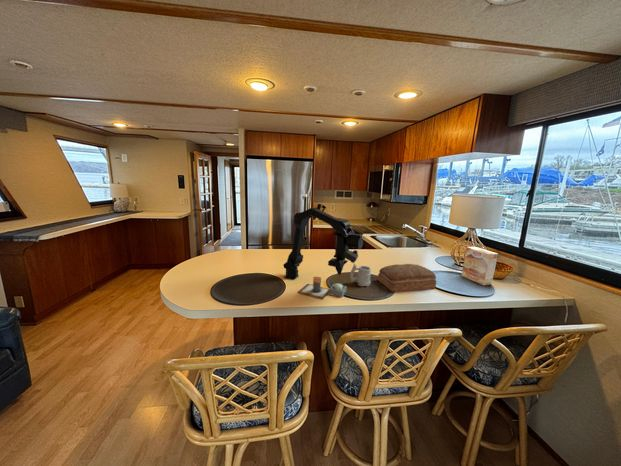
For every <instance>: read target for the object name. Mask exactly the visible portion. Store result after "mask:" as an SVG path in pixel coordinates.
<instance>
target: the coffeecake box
mask: <svg viewBox="0 0 621 466" xmlns="http://www.w3.org/2000/svg"><path fill="white" fill-rule="evenodd" d="M465 250H466V251H465V255H464V260H463V266H462V271H461V275H460V276H461V277H464V278H465V279H468V280H470V281H473V282H475V283H478V284H479V285H482V286H488V285H492V284H493V279H494V275H495V269H496V265H497V261H498V256H499V253H498V252H493V251H490V250H489V249H485V248H481V247H477V246H466V249H465Z"/></svg>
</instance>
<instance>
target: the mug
mask: <svg viewBox="0 0 621 466" xmlns="http://www.w3.org/2000/svg"><path fill="white" fill-rule="evenodd" d="M371 269H372V268H371V267H370V266H367V265H360V266H359V267H357V265H356V263H355V262H354V263H353V267H352V269H351V270H350V273H349V279H350V280H351V282H354V281H356V284H357V283H358V284H359V285H358V284H357V285H358V286H360V285H361V286H360V287H362V286H367V287H369V286H370V285H371V275H372V273H371ZM356 271H357V276H354V273H355V272H356Z"/></svg>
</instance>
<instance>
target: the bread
mask: <svg viewBox="0 0 621 466" xmlns="http://www.w3.org/2000/svg"><path fill="white" fill-rule="evenodd" d="M436 277H437V276H436V273H434V272H433V270H431V269H428V268H427V267H424V266H422V265H419V264H413V263H403V264H399V263H398V264H391V265H387V266H384V267H381V268H380V269H379V273H378V275H377V280H378V282H379V283H380V284H382V285H384V286H385V287H386V288H387V289H388V290H390V291H391V292H403V291H404V292H407V291H414V290H416V291H418V290H430V289H434V288H436V286H437V280H436V279H437V278H436Z"/></svg>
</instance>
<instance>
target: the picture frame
mask: <svg viewBox="0 0 621 466" xmlns="http://www.w3.org/2000/svg"><path fill="white" fill-rule="evenodd" d="M297 293H298V294H302V295H306V296H309V297H313V298H315V299H316V298H318V299H320V300H324V299H325V298H326V297H327V296H328V295H329V288H325V287H322V286H320V292H314V291H313V284H311V283H310V284H309V283H307V284H305V285H304V286H302V288H300V289H299V290H298V291H297Z"/></svg>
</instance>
